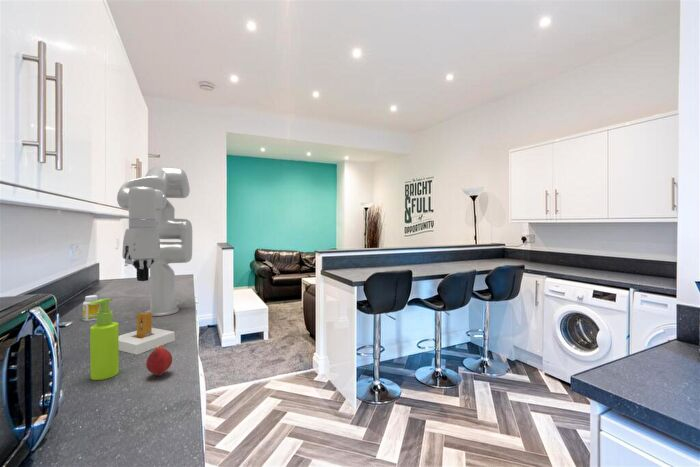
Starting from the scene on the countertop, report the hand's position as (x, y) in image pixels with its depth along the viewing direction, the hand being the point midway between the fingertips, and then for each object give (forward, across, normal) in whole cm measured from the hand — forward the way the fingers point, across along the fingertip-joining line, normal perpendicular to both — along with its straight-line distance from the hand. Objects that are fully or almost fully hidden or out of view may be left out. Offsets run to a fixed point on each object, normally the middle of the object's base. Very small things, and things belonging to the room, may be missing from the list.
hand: (142, 280), depth 105 cm
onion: (+21, +13, +25) cm, 36 cm away
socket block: (+21, 0, 0) cm, 21 cm away
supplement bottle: (+22, -10, -46) cm, 51 cm away
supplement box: (+21, 0, 0) cm, 21 cm away
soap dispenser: (+21, +19, +12) cm, 31 cm away
